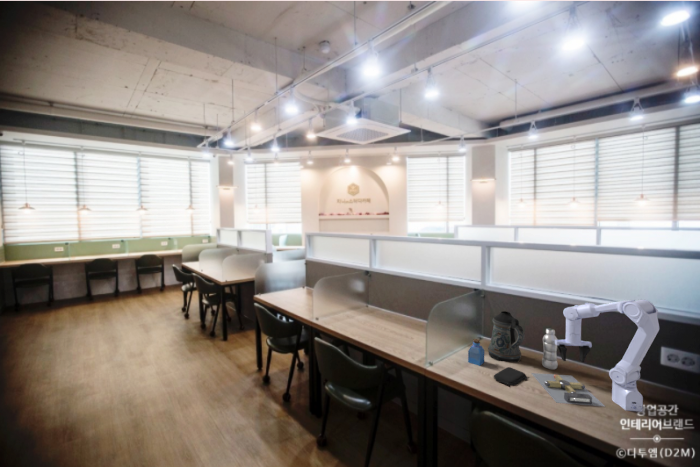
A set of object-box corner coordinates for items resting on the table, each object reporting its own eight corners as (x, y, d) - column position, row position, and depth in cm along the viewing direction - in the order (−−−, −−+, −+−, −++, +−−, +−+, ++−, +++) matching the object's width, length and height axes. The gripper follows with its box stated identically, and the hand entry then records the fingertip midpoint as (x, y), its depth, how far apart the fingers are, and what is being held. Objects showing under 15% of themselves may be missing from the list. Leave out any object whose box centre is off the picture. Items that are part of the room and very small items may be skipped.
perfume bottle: (484, 361, 161) (484, 339, 160) (480, 366, 156) (480, 343, 156) (472, 358, 165) (472, 336, 164) (468, 362, 160) (468, 340, 160)
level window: (593, 405, 121) (593, 398, 121) (568, 403, 122) (568, 397, 122) (588, 400, 124) (588, 394, 124) (564, 398, 126) (564, 392, 125)
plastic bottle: (543, 363, 158) (544, 326, 157) (558, 368, 153) (559, 329, 152) (540, 368, 153) (540, 329, 152) (556, 372, 148) (556, 333, 147)
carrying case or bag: (514, 390, 134) (530, 380, 143) (514, 383, 134) (530, 373, 143) (491, 380, 143) (507, 371, 151) (491, 373, 143) (508, 365, 151)
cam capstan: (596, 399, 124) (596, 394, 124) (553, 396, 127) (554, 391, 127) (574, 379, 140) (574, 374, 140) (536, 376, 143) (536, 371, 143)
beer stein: (494, 347, 178) (494, 306, 177) (531, 358, 164) (531, 313, 163) (483, 356, 167) (483, 312, 165) (521, 368, 153) (522, 320, 152)
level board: (605, 408, 120) (605, 406, 120) (556, 404, 123) (556, 402, 123) (571, 377, 144) (571, 375, 144) (530, 374, 147) (530, 373, 147)
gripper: (585, 329, 143) (584, 357, 143) (551, 328, 145) (551, 355, 146) (594, 335, 136) (594, 364, 136) (559, 333, 138) (558, 362, 139)
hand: (572, 360), depth 141 cm, fingers open, 7 cm apart
